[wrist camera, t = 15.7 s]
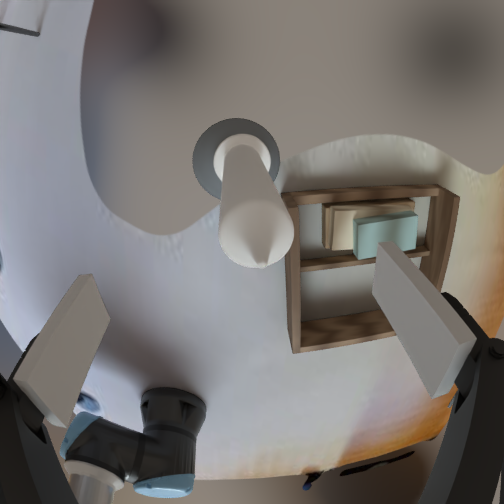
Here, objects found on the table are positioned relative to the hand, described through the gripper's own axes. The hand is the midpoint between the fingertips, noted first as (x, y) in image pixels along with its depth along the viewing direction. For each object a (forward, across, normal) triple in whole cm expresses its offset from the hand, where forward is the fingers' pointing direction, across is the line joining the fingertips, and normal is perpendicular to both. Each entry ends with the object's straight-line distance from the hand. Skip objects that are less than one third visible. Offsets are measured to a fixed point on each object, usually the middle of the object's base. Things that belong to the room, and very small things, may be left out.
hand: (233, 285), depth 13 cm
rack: (+28, +18, -17) cm, 37 cm away
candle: (+27, +1, 0) cm, 27 cm away
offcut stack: (+28, +18, -10) cm, 34 cm away
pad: (+28, 0, 0) cm, 28 cm away
